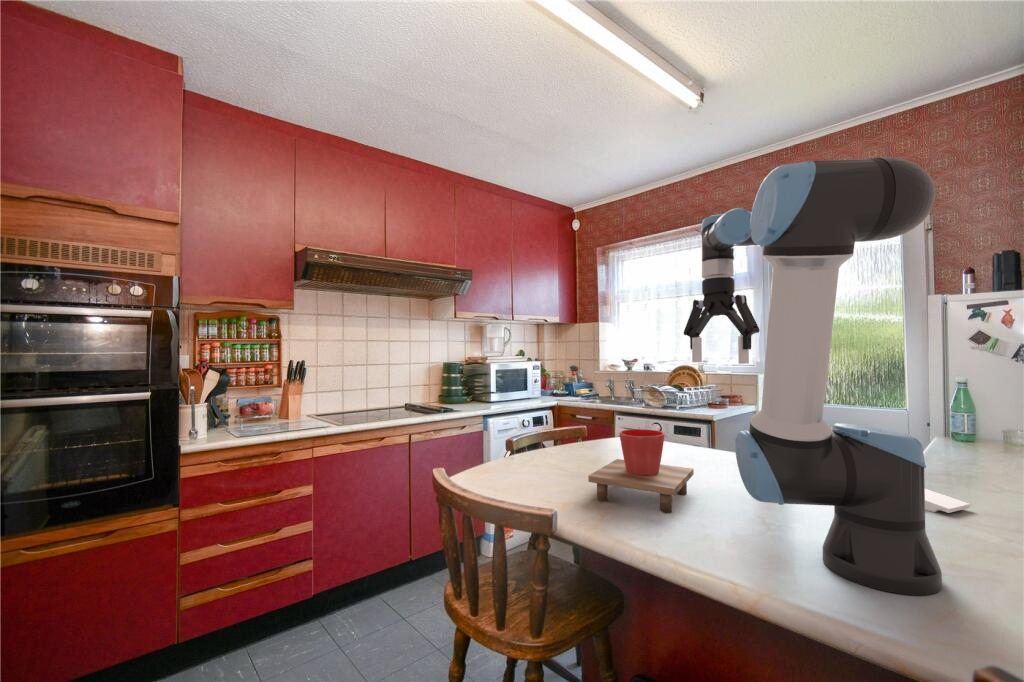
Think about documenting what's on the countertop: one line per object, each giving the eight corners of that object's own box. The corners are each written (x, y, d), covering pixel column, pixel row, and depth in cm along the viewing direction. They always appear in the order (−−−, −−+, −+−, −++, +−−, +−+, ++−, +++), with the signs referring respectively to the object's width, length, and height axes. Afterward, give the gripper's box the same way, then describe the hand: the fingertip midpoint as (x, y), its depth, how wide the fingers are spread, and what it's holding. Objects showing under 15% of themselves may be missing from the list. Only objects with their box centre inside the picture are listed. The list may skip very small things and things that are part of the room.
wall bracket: (964, 536, 104) (836, 485, 130) (973, 504, 104) (844, 460, 130) (941, 532, 100) (814, 481, 126) (950, 499, 100) (821, 455, 126)
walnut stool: (674, 516, 100) (674, 488, 100) (588, 500, 111) (588, 475, 111) (693, 492, 117) (693, 468, 117) (617, 480, 128) (617, 458, 128)
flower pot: (611, 468, 118) (611, 429, 118) (649, 464, 121) (648, 427, 121) (634, 479, 108) (633, 437, 108) (674, 475, 111) (673, 434, 111)
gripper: (775, 272, 107) (776, 363, 107) (689, 285, 129) (689, 361, 129) (754, 269, 104) (755, 364, 103) (669, 283, 126) (670, 362, 126)
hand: (719, 363), depth 116 cm, fingers open, 13 cm apart
